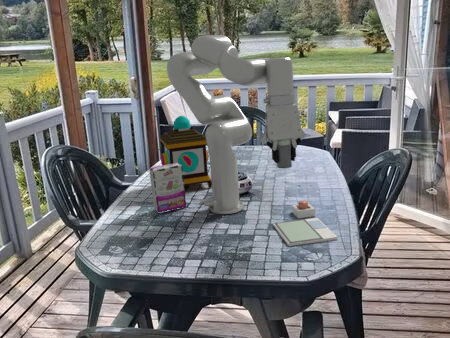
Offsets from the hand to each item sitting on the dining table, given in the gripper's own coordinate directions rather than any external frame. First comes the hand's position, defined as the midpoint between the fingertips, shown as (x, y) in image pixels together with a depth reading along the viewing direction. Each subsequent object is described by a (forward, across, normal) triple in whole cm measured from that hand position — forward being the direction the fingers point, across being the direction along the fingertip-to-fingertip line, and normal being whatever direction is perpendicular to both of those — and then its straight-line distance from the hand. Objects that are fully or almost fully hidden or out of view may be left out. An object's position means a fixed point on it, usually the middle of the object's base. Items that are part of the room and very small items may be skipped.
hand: (284, 160), depth 134 cm
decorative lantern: (+20, -26, +56) cm, 65 cm away
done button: (+21, +9, +10) cm, 25 cm away
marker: (+2, 0, 0) cm, 2 cm away
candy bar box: (+21, -35, +30) cm, 51 cm away
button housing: (+22, +9, +10) cm, 26 cm away
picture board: (+22, +4, -4) cm, 23 cm away
